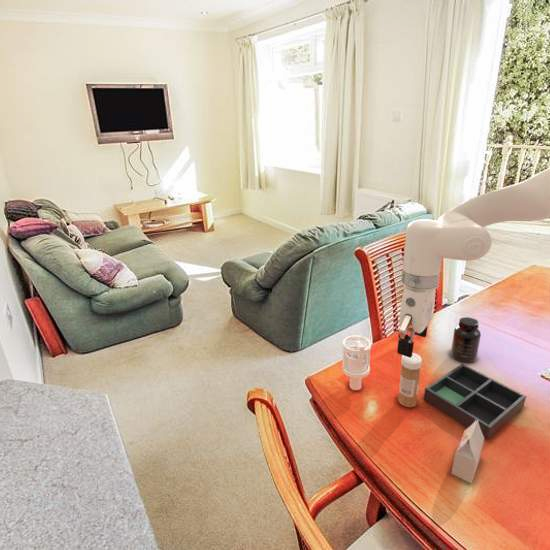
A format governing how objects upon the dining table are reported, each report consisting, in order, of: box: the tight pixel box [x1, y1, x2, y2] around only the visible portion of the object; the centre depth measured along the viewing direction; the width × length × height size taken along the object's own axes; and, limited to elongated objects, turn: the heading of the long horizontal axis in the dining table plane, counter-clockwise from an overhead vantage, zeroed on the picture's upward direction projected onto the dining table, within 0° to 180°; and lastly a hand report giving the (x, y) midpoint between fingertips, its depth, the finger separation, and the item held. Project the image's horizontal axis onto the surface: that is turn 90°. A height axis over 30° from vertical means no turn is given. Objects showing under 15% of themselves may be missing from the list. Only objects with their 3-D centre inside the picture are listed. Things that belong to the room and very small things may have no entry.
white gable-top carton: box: [451, 420, 485, 484], centre depth 74 cm, size 4×7×10 cm, turn 141°
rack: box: [423, 363, 527, 441], centre depth 92 cm, size 16×16×4 cm
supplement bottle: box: [450, 316, 481, 364], centre depth 107 cm, size 7×7×12 cm
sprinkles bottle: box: [397, 352, 423, 408], centre depth 91 cm, size 5×5×13 cm
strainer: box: [341, 334, 372, 391], centre depth 97 cm, size 7×7×15 cm
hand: (412, 344), depth 87 cm, fingers open, 9 cm apart
